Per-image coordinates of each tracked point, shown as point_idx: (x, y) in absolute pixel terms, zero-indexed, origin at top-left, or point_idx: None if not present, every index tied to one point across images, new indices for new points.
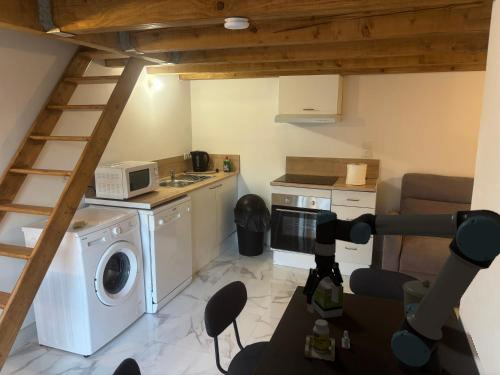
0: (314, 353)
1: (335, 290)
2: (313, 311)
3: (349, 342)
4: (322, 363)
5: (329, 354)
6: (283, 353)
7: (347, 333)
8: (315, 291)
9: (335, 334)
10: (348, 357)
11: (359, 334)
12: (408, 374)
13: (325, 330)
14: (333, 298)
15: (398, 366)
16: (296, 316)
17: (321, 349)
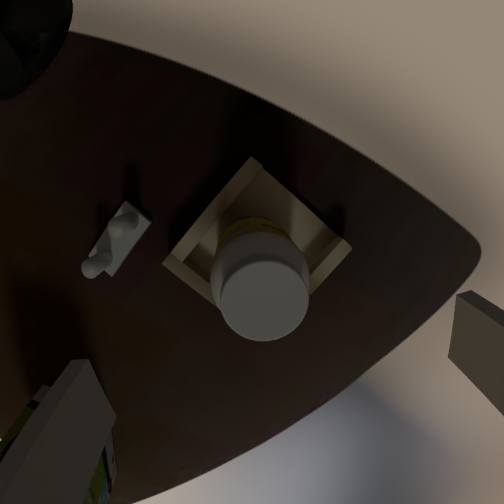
0: (299, 235)
1: (43, 482)
2: (471, 298)
3: (103, 233)
4: (305, 171)
5: (243, 199)
6: (392, 295)
7: (90, 258)
8: (97, 498)
9: (119, 312)
10: (173, 153)
11: (38, 267)
12: (72, 7)
13: (260, 249)
14: (95, 419)
15: (60, 46)
16: (196, 451)
17: (276, 223)
